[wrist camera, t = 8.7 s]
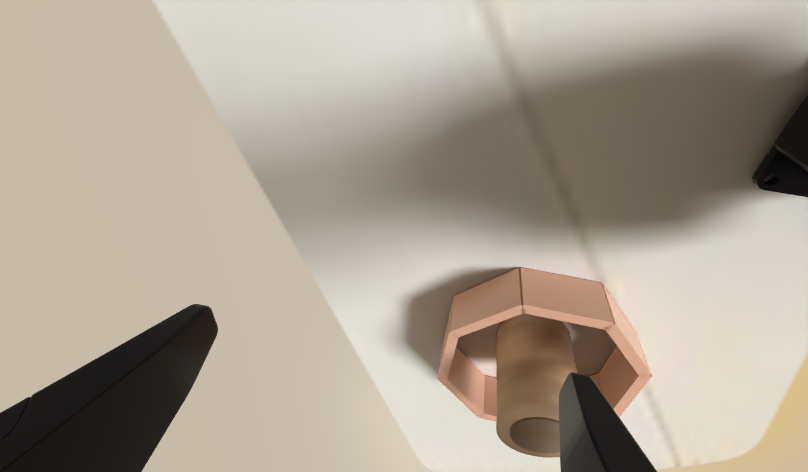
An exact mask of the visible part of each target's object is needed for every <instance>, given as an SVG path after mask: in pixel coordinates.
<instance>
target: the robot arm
mask: <svg viewBox="0 0 808 472" xmlns="http://www.w3.org/2000/svg"><path fill="white" fill-rule="evenodd" d="M772 174H774V176H773V177H772V178H771V179H769V180H767V181H765V179H766V178H767V177H768V176H770V175H772ZM753 182H754V183H755V184H756V185H757V186H758V187H759V188H760V189H763V190H767V191H774V192H780V193H786V194H792V195H798V196H805V197H808V96H807V97H806V98H805V100H804V101H803V103H802V104H801V106H800V107H799V108H798V110H797V111H796V113H795V114H794V116H793V117H792V119H791V120H790V121H789V123H788V124H787V126H786V127H785V129H784V130H783V131H782V133H781V134H780V136H779V137H778V139H777V140H776V142H775V145H774V146H773V148H772V149H771V151H770V152H769V153H768V155H767V156H766V158H765V159H764V161H763V162H762V163H761V165H760V166H759V168H758V169H757V171H756V172H755V173H754V175H753ZM217 332H218V327H217V323H216V321H215V318H214V315H213V313H212V310H211V308H210V307H208V306H204V305H199V304H193V305H191V306H189V307H187V308H185V309H183V310H181V311H180V312H178V313H176V314H174V315H173V316H171V317H169V318H168V319H166V320H164V321H162V322H161V323H159V324H157V325H155V326H153V327H151V328H150V329H148V330H146V331H144V332H143V333H141V334H139V335H138V336H136V337H134V338H132V339H130V340H129V341H127V342H125V343H123V344H121V345H120V346H118V347H117V348H115V349H113V350H111V351H109V352H108V353H106V354H104V355H102V356H101V357H99V358H97V359H95V360H93V361H92V362H90V363H88V364H86V365H84V366H83V367H81V368H79V369H77V370H76V371H74V372H72V373H70V374H68V375H67V376H65V377H63V378H61V379H60V380H58V381H56V382H54V383H53V384H51V385H49V386H47V387H46V388H44V389H42V390H40V391H38V392H37V393H35V394H33V395H32V397H28V398H26V399H24V400H22V401H21V402H19V403H17V404H15V405H14V406H12V407H10V408H8V409H6V410H5V411H3V412H1V413H0V472H141V471H142V470H143V468H144V466H145V464H146V463H147V462H148V460H149V458H150V456H151V455H152V453H153V452H154V450H155V448H156V447H157V445H158V443H159V442H160V440H161V438H162V437H163V435H164V433H165V432H166V430H167V428H168V427H169V425H170V423H171V422H172V420H173V418H174V417H175V415H176V414H177V412H178V410H179V408H180V407H181V405H182V404H183V402H184V400H185V399H186V397H187V395H188V393H189V392H190V390H191V388H192V386H193V384H194V382H195V380H196V378H197V376H198V374H199V372H200V369H201V367H202V365H203V363H204V361H205V359H206V357H207V355H208V353H209V351H210V348H211V346H212V344H213V342H214V340H215V338H216V336H217ZM559 434H560V463H561V472H657V471H656V469H655V468H654V467H653V465H652V464H651V462H650V461H649V459H648V458H647V457H646V455H645V454H644V452H643V451H642V449H641V448H640V447H639V445H638V444H637V442H636V441H635V439H634V438H633V437H632V435H631V434H630V432H629V431H628V429H627V428H626V427H625V425H624V424H623V422H622V421H621V419H620V418H619V417H618V415H617V414H616V412H615V411H614V409H613V408H612V407H611V405H610V404H609V402H608V401H607V399H606V398H605V397H604V395H603V394H602V392H601V391H600V389H599V388H598V387H597V385H596V384H595V382H594V381H593V379H592V378H591V377H590V376H588V375H586V374H582V373H576V372H571V373H569V374H568V376H567V378H566V380H565V382H564V384H563V386H562V388H561V390H560V393H559Z"/></svg>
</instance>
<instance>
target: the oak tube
mask: <svg viewBox="0 0 808 472" xmlns="http://www.w3.org/2000/svg"><path fill="white" fill-rule="evenodd" d="M571 372H576V373H577V368H576V363H575V358H574V353H573V348H572V342H571V337H570V332H569V330H568V328H567V327H566V326H565V325H564V323H562V322H561V321H560V320H555V319H550V318H545V317H540V316H535V315H530V314H525V313H523V314H520V315H518V316H515V317H512V318H510V319H507V320H505V321H504V322H503V323H502V324H501V325H500V326H499V328H498V330H497V423H496V430H497V434H498V437H499V438H500V439H501V441H502V442H503V443H505V444H506V445H507V446H509V447H510V448H512V449H514V450H516V451H519V452H521V453H524V454H528V455H532V456H538V457H560V434H559V393H560V390H561V388H562V386H563V384H564V382H565V380H566V378H567V376H568V374H569V373H571Z"/></svg>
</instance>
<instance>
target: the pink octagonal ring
mask: <svg viewBox="0 0 808 472" xmlns="http://www.w3.org/2000/svg"><path fill="white" fill-rule="evenodd" d="M523 313H525V314H530V315H535V316H540V317H545V318H550V319H555V320H560V321H565V322H569V323H574V324H579V325H584V326H589V327H594V328H599V329H604V330H606V331H607V333H608V334H609V335H610V337H611V338H612V339H613V341H614V342H615V344H616V345H617V346H616V348H615V349H614V351H613V352H612V354H611V355H610V357H609V358H608V360H607V361H606V363H605V364H604V366H603V367H602V369H601V370H600V372H599V373H598V374H594V375H590V377H591V378H592V379H593V381H594V382H595V384H596V385H597V387H598V388H599V389H600V391H601V392H602V394H603V395H604V397H605V398H606V399H607V401H608V402H609V404H610V405H611V407H612V408H613V409H614V411H615V412H616V414H617V415H618V417H620V415H621V414H622V413H623V412H624V410H625V409H626V408H627V407H628V406H629V404H630V403H631V402H632V401H633V399H634V398H635V397H636V396H637V394H638V393H639V392H640V391H641V389H642V388H643V387H644V386H645V384H646V383H647V382H648V381H649V379H650V378H651V377H652V373H651V370H650V368H649V365H648V362H647V360H646V357H645V354H644V352H643V349H642V346H641V343H640V341H639V338H638V335H637V333H636V331H635V330H634V328H633V327H632V325H631V324H630V322H629V321H628V319H627V318H626V317H625V315H624V314H623V312H622V311H621V309H620V308H619V306H618V305H617V303H616V302H615V301H614V299H613V298H612V296H611V295H610V293H609V292H608V290H607V289H606V288H605V286H604V285H603V284H601V283H600V282H594V281H589V280H584V279H579V278H574V277H568V276H563V275H558V274H553V273H547V272H542V271H537V270H532V269H527V268H520V269H519V268H516V269H514V270H512V271H510V272H507V273H505V274H503V275H500V276H498V277H496V278H494V279H491V280H489V281H487V282H484V283H482V284H480V285H478V286H475V287H473V288H471V289H468V290H466V291H464V292H462V293H459V294H457V295H455V296H454V297H453V301H452V305H451V310H450V314H449V318H448V323H447V327H446V331H445V335H444V340H443V346H442V353H441V360H440V367H439V374H438V380H439V381H440V382H441V383H442V384H443V385H444V386H446V387H447V388H448V389H449V390H450V391H451V392H452V393H453V394H454V395H455V396H456V397H457V398H458V399H459V400H460V401H461V402H462V403H464V404H465V405H466V406H467V407H468V408H469V409H470V410H471V411H472V412H473V413H474V414H475V415H476V416H477V417H479V418H483V419H487V420H492V421H496V422H497V378H494V377H489V376H485V375H484V374H483V373H482V372H481V371H480V370H479V369H478V368H477V367H476V366H475V365H474V364H473V363H472V362H471V361H470V360H469V359H468V358H467V357H466V356H465V355H464V354H463V353H462V352H461V351H460V350H459V349H458V348H457V347H456V345H457V342H458V338H459V337H461V336H464V335H466V334H469V333H472V332H474V331H477V330H480V329H483V328H485V327H488V326H491V325H493V324H496V323H499V322H501V321H504V320H507V319H510V318H512V317H515V316H518V315H520V314H523Z"/></svg>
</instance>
